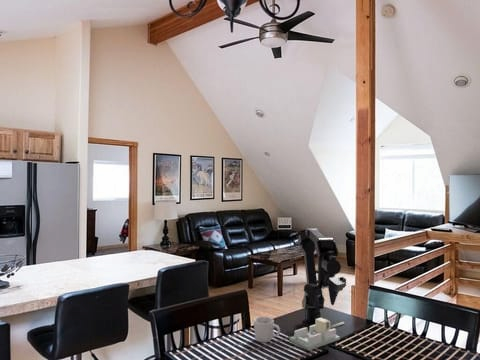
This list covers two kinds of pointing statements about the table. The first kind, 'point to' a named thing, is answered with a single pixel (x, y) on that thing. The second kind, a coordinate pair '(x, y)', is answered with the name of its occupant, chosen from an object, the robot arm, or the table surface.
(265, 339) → the cup
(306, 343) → the board
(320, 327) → the plug
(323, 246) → the robot arm
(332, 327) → the lead
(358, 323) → the table surface
